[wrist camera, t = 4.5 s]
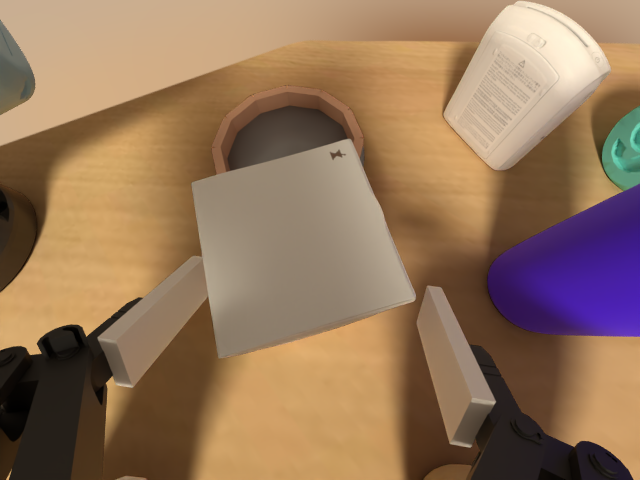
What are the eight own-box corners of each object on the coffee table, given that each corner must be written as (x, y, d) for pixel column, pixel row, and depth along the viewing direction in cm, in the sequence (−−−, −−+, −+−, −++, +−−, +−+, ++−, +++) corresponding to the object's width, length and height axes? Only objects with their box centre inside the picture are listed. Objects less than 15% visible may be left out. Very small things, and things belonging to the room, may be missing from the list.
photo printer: (525, 160, 30) (647, 51, 18) (495, 178, 29) (602, 76, 18) (463, 101, 33) (534, -25, 22) (435, 116, 33) (493, -5, 21)
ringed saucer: (197, 210, 30) (184, 197, 27) (244, 94, 35) (237, 75, 32) (348, 239, 28) (350, 229, 25) (374, 112, 33) (377, 93, 30)
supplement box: (259, 256, 28) (184, 175, 14) (342, 232, 28) (353, 130, 14) (280, 347, 25) (209, 365, 11) (372, 318, 25) (423, 299, 11)
